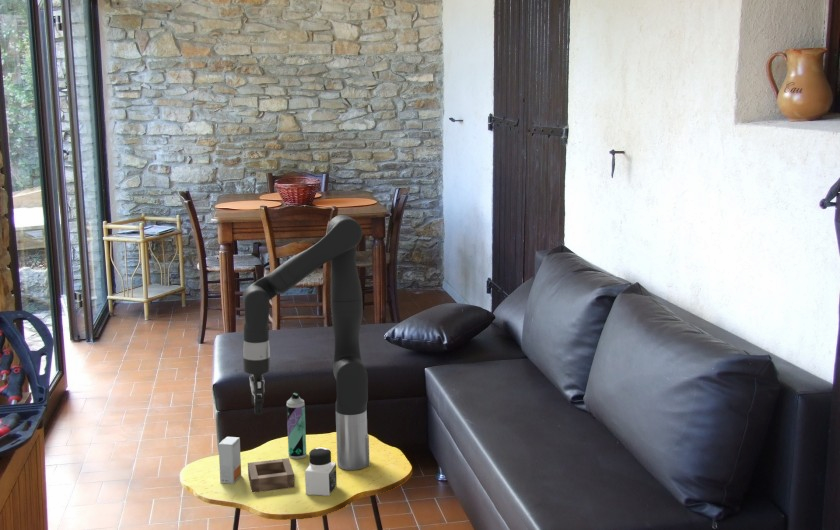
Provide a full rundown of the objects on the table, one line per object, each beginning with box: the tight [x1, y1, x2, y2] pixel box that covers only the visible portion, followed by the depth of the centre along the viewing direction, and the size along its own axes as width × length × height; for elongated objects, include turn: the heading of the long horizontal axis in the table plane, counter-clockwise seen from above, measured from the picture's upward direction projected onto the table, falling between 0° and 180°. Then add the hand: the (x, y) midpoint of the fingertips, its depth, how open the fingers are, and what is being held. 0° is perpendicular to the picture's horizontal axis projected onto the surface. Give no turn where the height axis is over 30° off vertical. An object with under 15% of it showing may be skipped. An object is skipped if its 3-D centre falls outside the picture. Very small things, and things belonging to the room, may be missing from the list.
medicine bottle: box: [304, 447, 338, 497], centre depth 250 cm, size 7×7×12 cm
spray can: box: [286, 392, 307, 460], centre depth 274 cm, size 6×6×20 cm
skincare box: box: [218, 436, 242, 485], centre depth 258 cm, size 6×4×12 cm
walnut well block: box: [247, 457, 296, 493], centre depth 257 cm, size 12×12×4 cm
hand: (257, 409), depth 258 cm, fingers open, 8 cm apart
